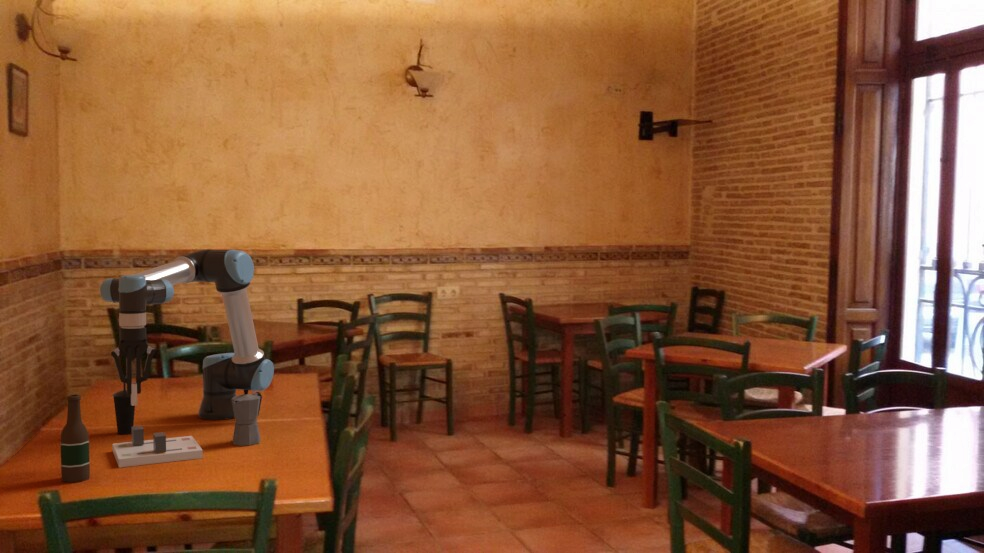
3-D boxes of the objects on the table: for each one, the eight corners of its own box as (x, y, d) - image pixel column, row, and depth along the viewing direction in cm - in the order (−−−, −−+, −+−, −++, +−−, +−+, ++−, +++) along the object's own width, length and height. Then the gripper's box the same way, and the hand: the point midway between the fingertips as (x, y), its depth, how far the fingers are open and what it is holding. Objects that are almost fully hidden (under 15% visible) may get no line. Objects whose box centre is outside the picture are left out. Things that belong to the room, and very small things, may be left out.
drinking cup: (128, 436, 304) (127, 377, 302) (108, 434, 305) (107, 376, 304) (142, 430, 311) (140, 373, 310) (122, 429, 313) (121, 372, 311)
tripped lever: (163, 448, 278) (163, 432, 278) (166, 451, 274) (165, 435, 273) (153, 449, 277) (153, 433, 277) (155, 453, 272) (155, 436, 272)
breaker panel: (191, 443, 295) (191, 435, 295) (202, 458, 278) (202, 449, 277) (112, 451, 284) (112, 443, 284) (118, 467, 266) (118, 458, 266)
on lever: (141, 441, 287) (141, 425, 286) (143, 444, 282) (143, 428, 282) (131, 442, 285) (131, 426, 285) (133, 445, 281) (133, 429, 280)
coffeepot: (247, 448, 289) (247, 393, 288) (222, 446, 292) (221, 391, 291) (273, 437, 304) (272, 384, 302) (249, 435, 307) (248, 383, 305)
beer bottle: (66, 475, 258) (64, 392, 257) (94, 474, 259) (92, 392, 257) (55, 483, 251) (53, 398, 249) (84, 483, 251) (82, 398, 250)
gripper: (154, 324, 276) (155, 400, 277) (108, 326, 270) (109, 404, 271) (157, 327, 269) (158, 405, 271) (110, 329, 263) (111, 409, 265)
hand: (134, 404), depth 271 cm, fingers closed
